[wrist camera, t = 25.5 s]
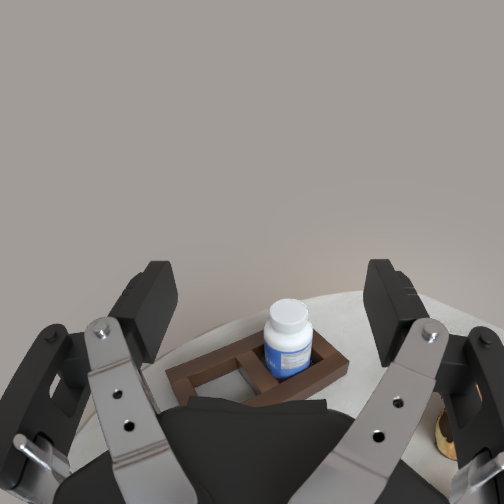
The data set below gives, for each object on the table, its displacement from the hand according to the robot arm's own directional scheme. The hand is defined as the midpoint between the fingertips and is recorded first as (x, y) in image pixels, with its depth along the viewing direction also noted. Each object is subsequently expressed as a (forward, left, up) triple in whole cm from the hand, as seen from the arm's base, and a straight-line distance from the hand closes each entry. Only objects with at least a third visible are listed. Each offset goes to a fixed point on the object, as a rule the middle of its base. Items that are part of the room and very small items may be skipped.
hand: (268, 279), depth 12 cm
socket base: (+4, +11, -23) cm, 26 cm away
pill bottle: (+9, +11, -24) cm, 27 cm away
